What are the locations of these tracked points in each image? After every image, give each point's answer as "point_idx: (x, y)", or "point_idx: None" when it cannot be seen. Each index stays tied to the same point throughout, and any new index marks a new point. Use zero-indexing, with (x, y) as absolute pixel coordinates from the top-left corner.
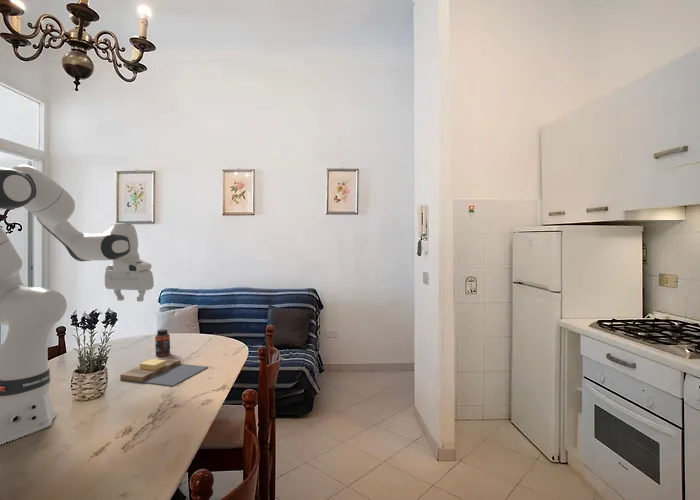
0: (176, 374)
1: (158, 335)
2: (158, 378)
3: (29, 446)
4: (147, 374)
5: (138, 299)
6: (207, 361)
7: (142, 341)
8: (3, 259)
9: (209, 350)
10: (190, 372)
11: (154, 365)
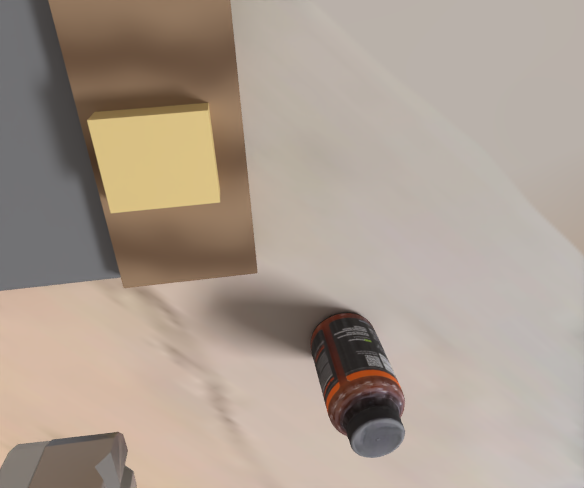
0: None
1: (373, 396)
2: (15, 63)
3: None
4: (65, 39)
5: (41, 474)
6: (46, 351)
7: (575, 414)
8: None
9: (181, 445)
10: None
11: (89, 120)
